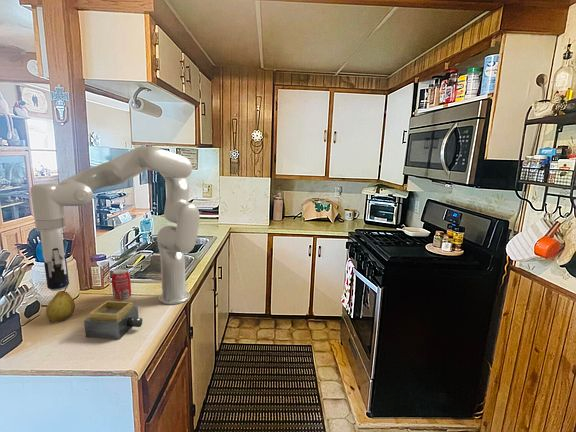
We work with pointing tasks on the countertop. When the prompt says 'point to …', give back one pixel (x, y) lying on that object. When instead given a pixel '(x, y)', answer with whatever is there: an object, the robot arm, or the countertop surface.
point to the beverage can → (49, 276)
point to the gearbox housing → (112, 320)
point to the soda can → (121, 284)
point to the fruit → (60, 306)
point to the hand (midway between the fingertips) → (57, 278)
